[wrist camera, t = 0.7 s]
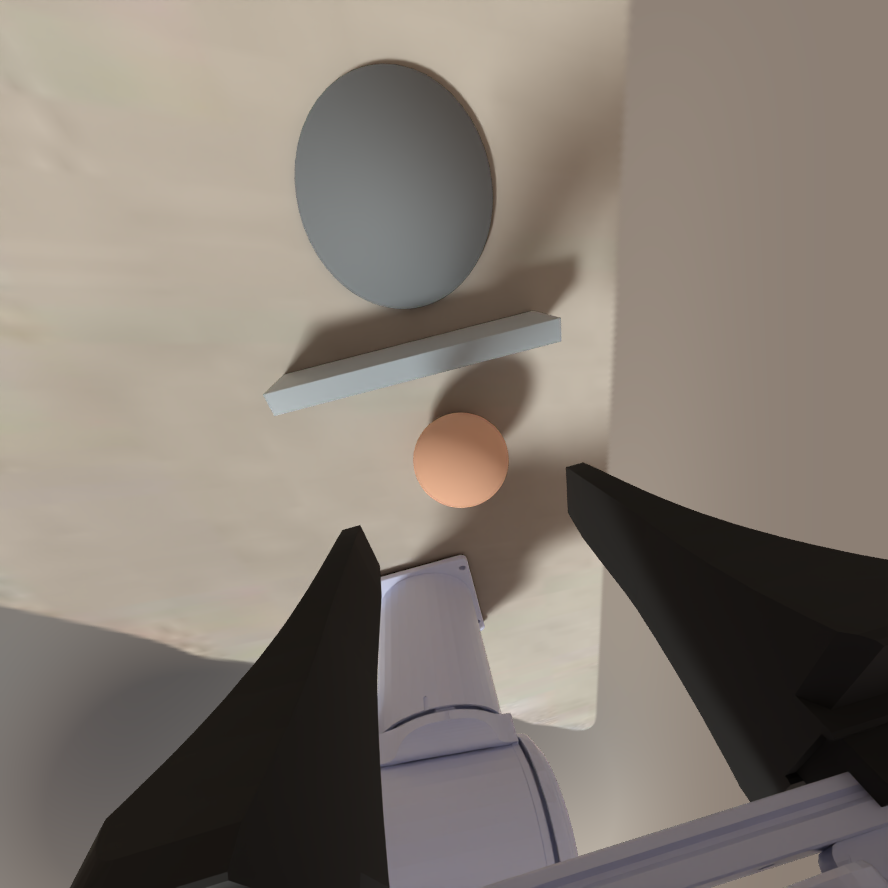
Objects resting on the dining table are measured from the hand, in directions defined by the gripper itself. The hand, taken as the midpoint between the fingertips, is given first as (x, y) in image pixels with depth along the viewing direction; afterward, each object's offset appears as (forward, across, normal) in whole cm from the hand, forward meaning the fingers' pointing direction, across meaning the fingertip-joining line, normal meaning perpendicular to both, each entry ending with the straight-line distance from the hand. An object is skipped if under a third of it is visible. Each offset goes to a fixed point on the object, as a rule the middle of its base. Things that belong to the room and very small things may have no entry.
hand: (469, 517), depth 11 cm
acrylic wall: (+8, 0, -4) cm, 9 cm away
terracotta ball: (+8, -1, +2) cm, 9 cm away
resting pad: (+8, -1, -10) cm, 13 cm away
